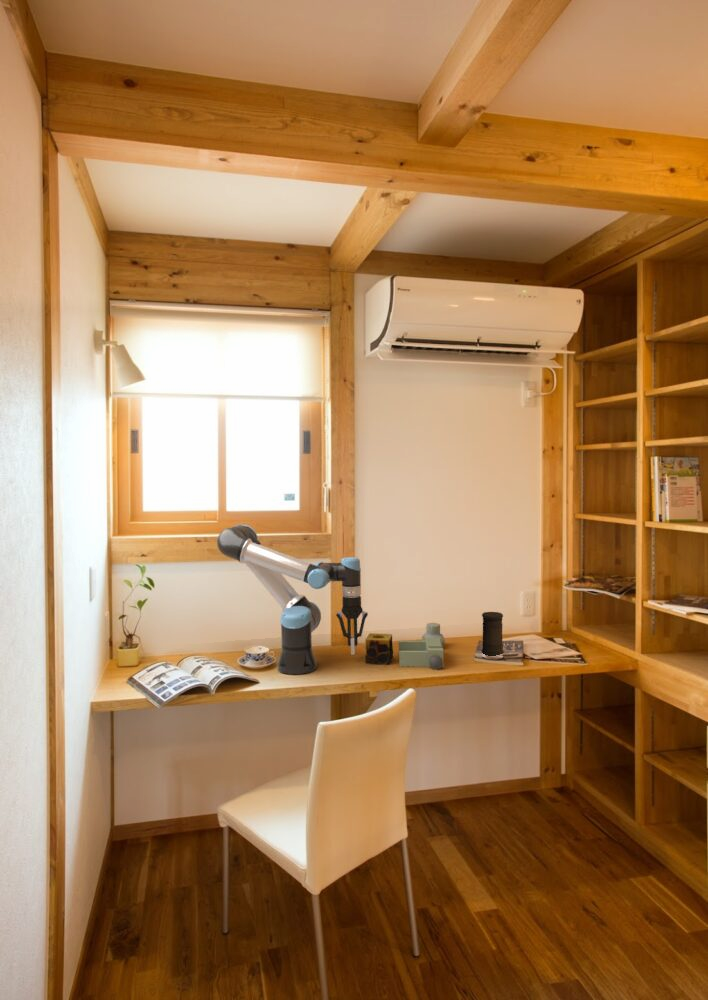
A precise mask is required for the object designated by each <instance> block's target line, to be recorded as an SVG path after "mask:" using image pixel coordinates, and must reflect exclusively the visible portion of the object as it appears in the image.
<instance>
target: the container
mask: <svg viewBox="0 0 708 1000" xmlns="http://www.w3.org/2000/svg"><path fill="white" fill-rule="evenodd" d="M481 617H482V644H481V645H482V649H481V654H482V653H483V654H485V655H488V656H496V655H500V654H504V653H505V652H504V650H503V649H504V647H503V646H504V644H503V617H504V615H503V613H502V612H498V611H486V612H485V611H484V612H483V613H482V614H481Z"/></svg>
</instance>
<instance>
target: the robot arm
mask: <svg viewBox="0 0 708 1000" xmlns="http://www.w3.org/2000/svg"><path fill="white" fill-rule="evenodd" d="M216 543H217V549H218V550H219V553H221V554H222V555H224V556H225V557H228V558H230V559H233V560H236V561H238V562H239V563H240V564H245V565H246V566H247V567H248V568H249V570H250V571H251V572H252V573H253V574H254V576H255V577H256V578H257V579H258V580H259V582H260V583H261V584H262V585H263V587H264V588H265V589H266V590H267V592H268V593H269V594H270V595H271V596H272V597H273V599H274V600H275V601H276V602H277V604H279V606H280V607H281V608H282V610H281V611H282V612H281V616H280V623H281V624H280V625H281V627H280V628H281V652H280V655H279V658H278V660H277V671H278V672H279V671H280V672H279V673H281V672H282V674H284V673H288V674H287V675H293V674H297V675H303V674H302V673H306V674H310V673H312V672H315V671H316V670H317V660H316V657H315V655H314V651H313V648H312V647H313V646H312V641H313V640H312V637H313V636H312V633H313V632H314V631H315V630H316V629H317V628H318V627H319V625H320V623H321V620H322V612H321V609H320V608H319V605H317V604H316V603H314V602H312V601H309V599H308V598H307V597H306V595H304V594H299V593H298V592H297V590H295V588H294V587H293V586H292V584H291V583H289V581H288V580H287V579H286V577H285V576H287V577H289V578H292V579H295V580H298V581H300V582H303V583H306V584H308V585H309V586H310V587H311V588H312V589H315V590H320V589H323V588H325V587H326V586H327V585H328V584H329V583H331V582H341V588H342V589H341V592H342V594H341V595H342V600H341V601H342V608H341V609H340V611H339V612H336V614H335V615H336V617H337V618H338V622H339V625H340V628H341V632H342V636H343V637H344V638H347V645H348V647H350V655H352V656H353V655H356V654H355V653H356V647H357V646H358V638H361V637H362V635H363V631H364V626H365V622H366V618H367V617H368V614H369V613H368V612H367V611H364V610H363V608H362V597H361V595H362V583H361V561H360V559H359V558H358V557H354V556H351V557H350V556H349V557H342V558H341V562H323V561H321V562H314V563H313V564H312V563H310V562H308V561H304V560H301V559H299V558H297V557H294V556H291V555H288V554H286V553H283V552H280V551H277V550H275V549H271V548H270V547H266V546H264V545H263V544H262V543H261V542H260V540H259V539H258V535H257V532H256V531H255V529H254V528H252V527H251V526H249V525H246V524H237V525H234V526H232V527H227V528H225V529H223V530H222V531H221V532H220V533H219V535H218V536H217V539H216ZM343 615H344V617H345V618H346V619H347V620H346V621H347V623H346V624H347V629H346V627H345V623H344V619H343ZM360 615H361V623H360V625H359V626H360V627H359V631H358V618H359V617H360ZM352 620H353V636H352V623H351V622H352ZM315 669H316V670H315ZM309 672H310V673H309Z"/></svg>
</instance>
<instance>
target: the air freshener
mask: <svg viewBox="0 0 708 1000" xmlns="http://www.w3.org/2000/svg"><path fill="white" fill-rule="evenodd" d="M425 629H426V632H425V633H424V634H423V635H422V637H421V641H425V638H440V640H441V644H442V647H443V646H445V644H446V643H445V636H444V635H443V634H442V633H441V624H440V623H437V622H429V623H426V628H425Z"/></svg>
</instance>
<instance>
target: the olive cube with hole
mask: <svg viewBox="0 0 708 1000" xmlns="http://www.w3.org/2000/svg"><path fill="white" fill-rule="evenodd" d="M364 655H365V656H364V660H365V662H364V663H365V664H367V665H385V666H386V665H387V666H389V665H391V663H392V661H393V657H394V649H393V634H392V633H375V632H374V633H372V632H371V633H369V634H368V635H367V636H366V638H365V654H364Z"/></svg>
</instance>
